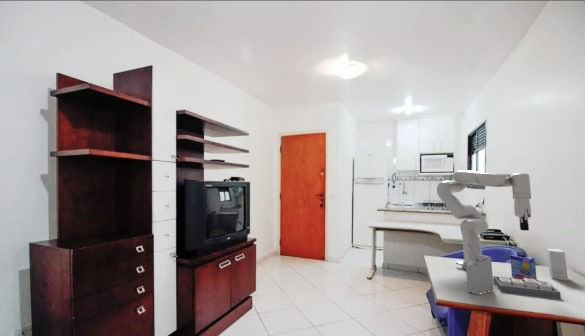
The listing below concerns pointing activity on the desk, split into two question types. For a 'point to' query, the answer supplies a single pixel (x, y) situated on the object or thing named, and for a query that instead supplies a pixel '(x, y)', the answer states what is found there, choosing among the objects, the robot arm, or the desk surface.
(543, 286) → the key charcoal
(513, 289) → the grey compartment tray
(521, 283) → the key terracotta
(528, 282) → the key olive
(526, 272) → the ink cartridge box
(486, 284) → the fuel canister
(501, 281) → the key slate
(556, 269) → the skincare box
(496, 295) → the desk surface
